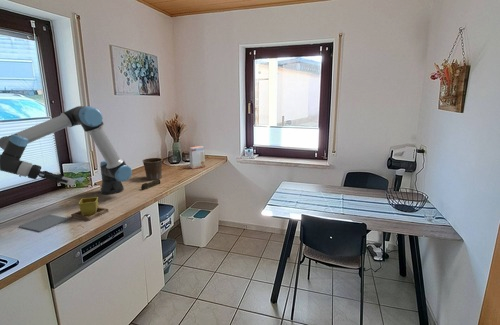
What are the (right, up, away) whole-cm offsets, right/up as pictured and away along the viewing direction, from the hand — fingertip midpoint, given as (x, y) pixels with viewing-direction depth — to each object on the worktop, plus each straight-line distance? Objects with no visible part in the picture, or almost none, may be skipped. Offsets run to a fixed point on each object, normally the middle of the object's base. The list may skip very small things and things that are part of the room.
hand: (74, 182), depth 155 cm
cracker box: (+48, +6, +115) cm, 125 cm away
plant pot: (+18, -2, +78) cm, 80 cm away
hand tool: (+24, -8, +55) cm, 61 cm away
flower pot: (+6, -19, +4) cm, 21 cm away
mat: (-11, -21, -7) cm, 25 cm away
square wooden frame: (+6, -19, +4) cm, 20 cm away
